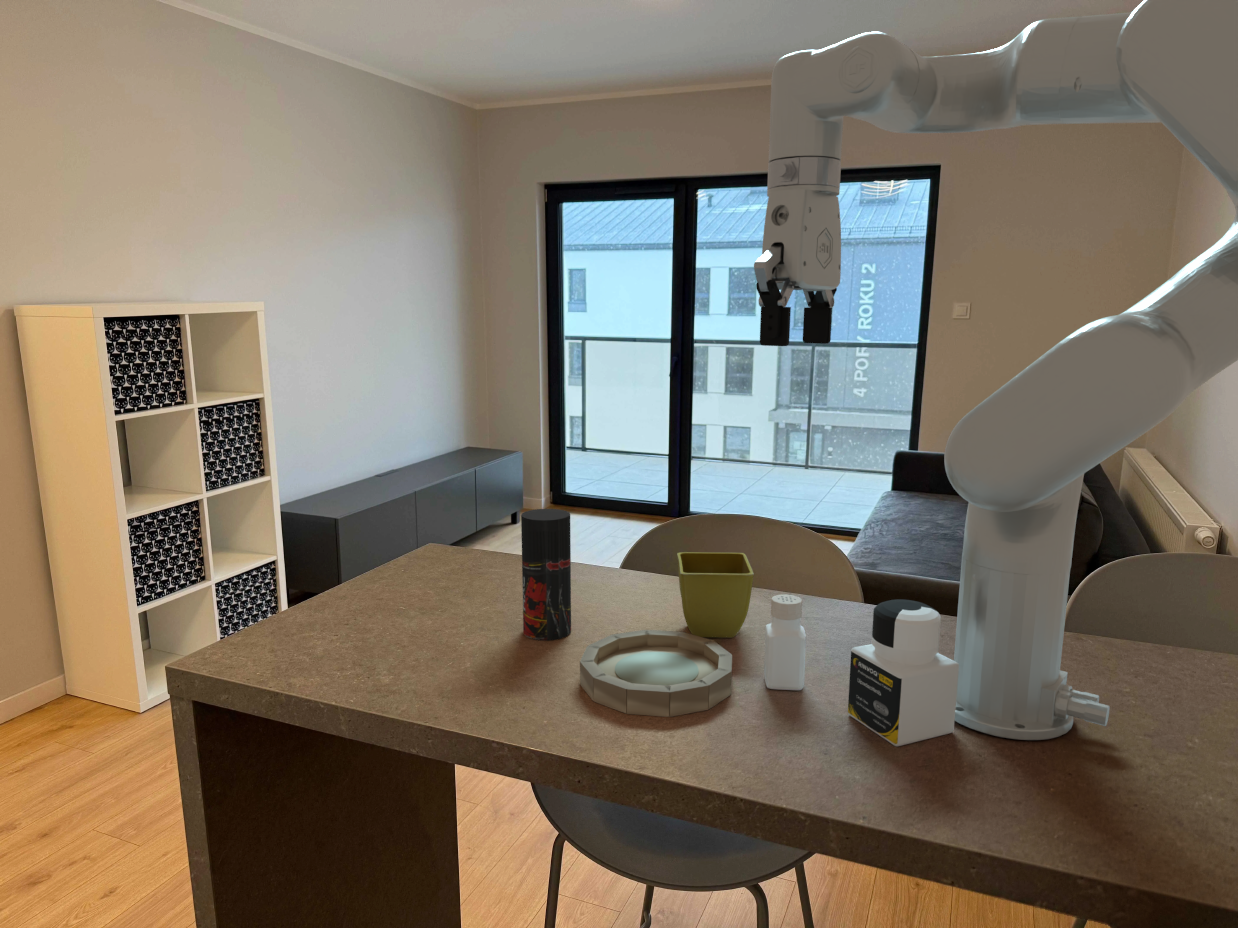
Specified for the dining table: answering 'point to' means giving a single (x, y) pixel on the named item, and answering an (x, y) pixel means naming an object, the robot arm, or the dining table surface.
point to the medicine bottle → (903, 676)
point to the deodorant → (546, 574)
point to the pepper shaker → (785, 644)
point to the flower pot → (715, 592)
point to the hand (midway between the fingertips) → (796, 344)
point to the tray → (656, 672)
